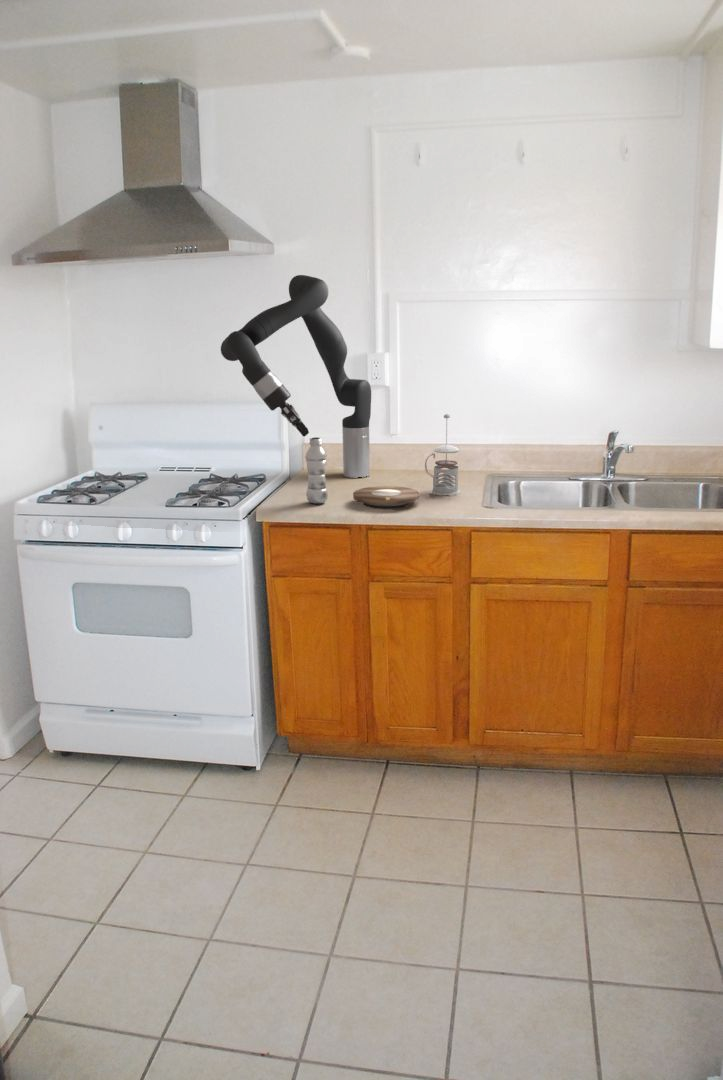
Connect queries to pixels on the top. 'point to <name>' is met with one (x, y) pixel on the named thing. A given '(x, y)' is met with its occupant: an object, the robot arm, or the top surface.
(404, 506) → the turntable base
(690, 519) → the top surface
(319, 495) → the plastic bottle
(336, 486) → the top surface
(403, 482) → the top surface
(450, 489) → the french press
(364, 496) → the turntable platter
